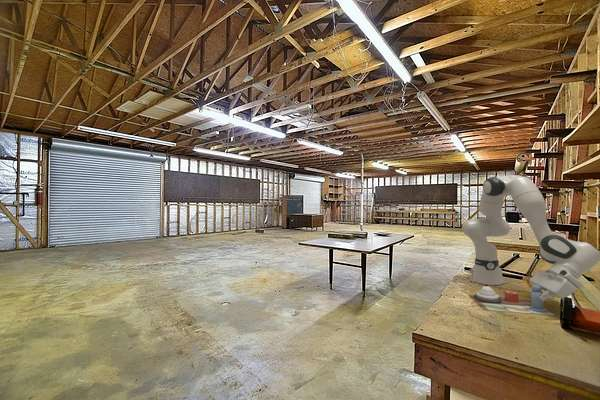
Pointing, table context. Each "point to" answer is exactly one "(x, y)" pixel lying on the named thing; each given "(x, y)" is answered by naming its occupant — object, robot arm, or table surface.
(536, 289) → the pawn
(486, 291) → the dome
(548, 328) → the table surface
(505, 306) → the game board
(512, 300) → the red die
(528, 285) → the figurine
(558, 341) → the table surface
